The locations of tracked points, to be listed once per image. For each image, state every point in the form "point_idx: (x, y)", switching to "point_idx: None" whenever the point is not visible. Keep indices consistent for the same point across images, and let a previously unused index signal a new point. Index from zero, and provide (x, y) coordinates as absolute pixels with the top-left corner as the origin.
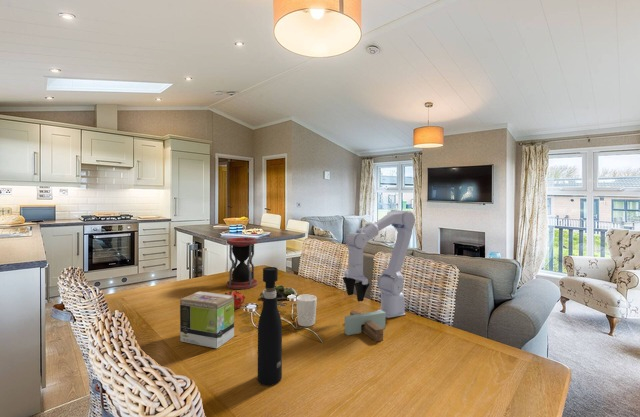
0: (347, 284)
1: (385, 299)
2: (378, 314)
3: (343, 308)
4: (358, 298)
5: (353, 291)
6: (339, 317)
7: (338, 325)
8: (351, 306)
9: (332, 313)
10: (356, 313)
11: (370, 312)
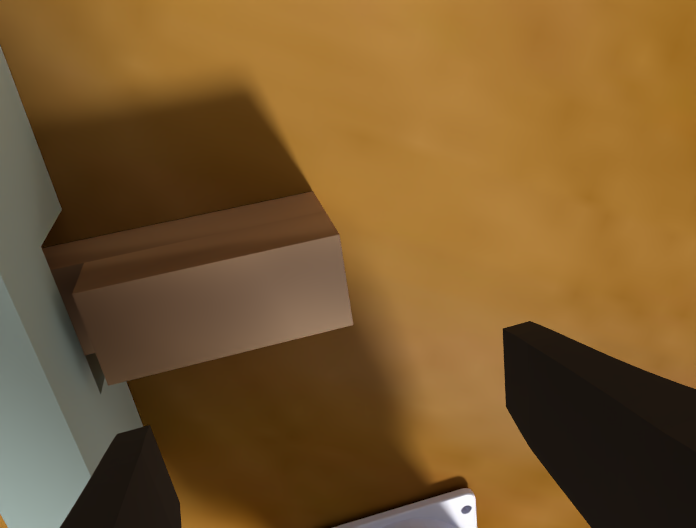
0: (668, 462)
1: None
2: None
3: (650, 218)
4: (89, 480)
5: (539, 455)
6: (451, 102)
7: (228, 11)
8: (657, 308)
9: (581, 52)
10: (255, 296)
11: (76, 473)
